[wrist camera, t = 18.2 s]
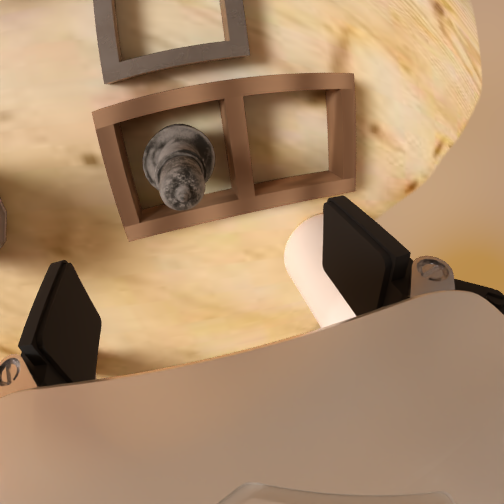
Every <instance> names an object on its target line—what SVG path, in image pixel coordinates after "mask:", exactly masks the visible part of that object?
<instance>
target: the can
mask: <svg viewBox="0 0 504 504" xmlns="http://www.w3.org/2000/svg"><path fill="white" fill-rule="evenodd" d="M6 219H7V211H6V209H5V207H4V205H3V203H2V201H1V198H0V248H1V247H2V245H3V244H4V243H5V241H6Z"/></svg>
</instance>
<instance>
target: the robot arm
mask: <svg viewBox="0 0 504 504" xmlns="http://www.w3.org/2000/svg"><path fill="white" fill-rule="evenodd" d="M322 265H323V269H324V271H325V273H326V274H327V276H328V277H329V278H330V280H331V281H332V282H333V284H334V285H335V287H336V288H337V289H338V291H339V292H340V294H341V295H342V296H343V298H344V299H345V301H346V302H347V304H348V305H349V306H350V308H351V309H352V311H353V312H354V314H355V315H356V317H353V318H350V319H347V320H344V321H341V322H338V323H335V324H332V325H329V326H326V327H323V328H319V329H316V330H313V331H310V332H306V333H303V334H300V335H296V336H293V337H290V338H286V339H283V340H279V341H276V342H272V343H268V344H265V345H261V346H257V347H254V348H250V349H246V350H242V351H238V352H234V353H230V354H226V355H222V356H218V357H213V358H209V359H205V360H200V361H196V362H191V363H186V364H182V365H177V366H172V367H167V368H162V369H156V370H151V371H146V372H140V373H134V374H129V375H122V376H116V377H110V378H103V379H96V380H95V374H96V364H97V355H98V347H99V339H100V332H101V318H100V316H99V314H98V312H97V310H96V309H95V307H94V305H93V303H92V301H91V300H90V298H89V296H88V294H87V292H86V290H85V289H84V287H83V285H82V283H81V281H80V279H79V277H78V275H77V273H76V271H75V269H74V267H73V265H72V264H71V263H68V262H67V261H66V260H62V261H59V262H55V263H52V264H51V265H50V266H49V269H48V271H47V273H46V275H45V277H44V280H43V282H42V284H41V286H40V289H39V291H38V293H37V296H36V298H35V301H34V303H33V306H32V308H31V311H30V313H29V316H28V319H27V321H26V324H25V327H24V330H23V333H22V335H21V338H20V341H19V344H18V347H19V348H20V350H21V351H22V353H21V356H20V355H17V354H11V355H9V356H7V357H5V358H4V359H3V360H2V361H1V362H0V504H504V295H503V294H502V293H501V292H499V291H498V290H494V289H492V288H488V287H484V286H480V285H476V284H473V283H469V282H464V281H461V280H457V279H454V275H453V271H452V269H451V267H450V266H449V265H448V264H447V263H446V262H445V261H443V260H441V259H439V258H436V257H432V256H422V257H419V258H416V259H415V260H414V261H413V260H412V259H411V258H410V252H409V251H408V250H407V249H406V248H405V247H404V246H403V245H401V244H400V243H399V242H398V241H397V240H396V239H395V238H394V237H393V236H391V235H390V234H389V233H388V232H387V231H386V230H385V229H383V228H382V227H381V226H380V225H379V224H378V223H377V222H375V221H374V220H373V219H372V218H371V217H369V216H368V215H367V214H366V213H365V212H363V211H362V210H361V209H360V208H359V207H357V206H356V205H355V204H354V203H353V202H351V201H350V200H349V199H348V198H346V197H345V196H338V197H333V198H329V199H328V201H327V203H324V207H323V253H322Z"/></svg>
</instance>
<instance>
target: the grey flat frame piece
mask: <svg viewBox="0 0 504 504" xmlns="http://www.w3.org/2000/svg"><path fill="white" fill-rule="evenodd" d="M93 3H94V14H95V24H96V32H97V40H98V47H99V54H100V61H101V67H102V73H103V79H104V84H112V83H115V82H118V81H122V80H125V79H129V78H132V77H136V76H140V75H144V74H148V73H152V72H156V71H161V70H165V69H170V68H175V67H180V66H185V65H191V64H196V63H202V62H209V61H216V60H223V59H232V58H241V57H246V56H249V55H250V52H249V44H248V36H247V29H246V21H245V14H244V6H243V0H220V7H221V14H222V22H223V29H224V37H225V41H223V42H214V43H207V44H200V45H194V46H188V47H182V48H177V49H172V50H167V51H162V52H157V53H153V54H149V55H145V56H140V57H137V58H133V59H129V60H125V61H122V56H121V49H120V42H119V35H118V27H117V19H116V10H115V0H93Z"/></svg>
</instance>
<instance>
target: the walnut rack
mask: <svg viewBox="0 0 504 504" xmlns="http://www.w3.org/2000/svg"><path fill="white" fill-rule="evenodd" d="M318 89H325V90H326V105H327V124H328V151H329V171H323V172H317V173H311V174H305V175H299V176H293V177H288V178H282V179H277V180H272V181H266V182H261V183H256V184H254V182H253V174H252V165H251V157H250V149H249V141H248V133H247V125H246V117H245V109H244V101H243V96H247V95H255V94H264V93H274V92H285V91H299V90H318ZM213 100H219V104H220V111H221V118H222V124H223V131H224V138H225V145H226V152H227V158H228V165H229V172H230V178H231V185H232V188H231V189H227V190H222V191H218V192H213V193H209V194H204V195H203V198H202V199H201V201H200V202H199V203H198V204H197V205H196V206H195V207H193V208H191V209H189V210H185V211H178V210H173V209H171V208H169V207H168V206H167V205H166V204H162V205H158V206H154V207H151V208H147V209H143V210H142V209H141V205H140V202H139V198H138V195H137V191H136V188H135V184H134V180H133V177H132V173H131V169H130V165H129V161H128V157H127V153H126V149H125V145H124V140H123V136H122V132H121V127H120V123H119V122H122V121H125V120H129V119H132V118H136V117H140V116H144V115H147V114H151V113H155V112H160V111H164V110H168V109H173V108H177V107H182V106H187V105H192V104H197V103H202V102H208V101H213ZM92 115H93V120H94V124H95V128H96V133H97V137H98V141H99V145H100V149H101V153H102V156H103V160H104V164H105V168H106V171H107V175H108V178H109V182H110V185H111V188H112V192H113V195H114V198H115V201H116V205H117V208H118V211H119V214H120V217H121V220H122V223H123V226H124V229H125V232H126V235H127V238H128V240H129V242H130V241H134V240H138V239H142V238H145V237H149V236H153V235H157V234H161V233H165V232H169V231H173V230H177V229H181V228H186V227H190V226H194V225H198V224H202V223H206V222H211V221H215V220H219V219H224V218H228V217H232V216H237V215H241V214H246V213H250V212H255V211H260V210H264V209H269V208H273V207H278V206H283V205H288V204H293V203H297V202H302V201H307V200H312V199H317V198H322V197H328V196H333V195H338V194H343V193H349V192H354V191H355V186H356V107H355V85H354V74H352V73H300V74H281V75H268V76H257V77H247V78H239V79H231V80H224V81H217V82H211V83H205V84H199V85H193V86H188V87H183V88H178V89H173V90H169V91H164V92H160V93H156V94H152V95H148V96H144V97H140V98H136V99H132V100H129V101H125V102H122V103H118V104H115V105H112V106H108V107H105V108H102V109H99V110H96V111H94V112H92Z"/></svg>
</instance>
